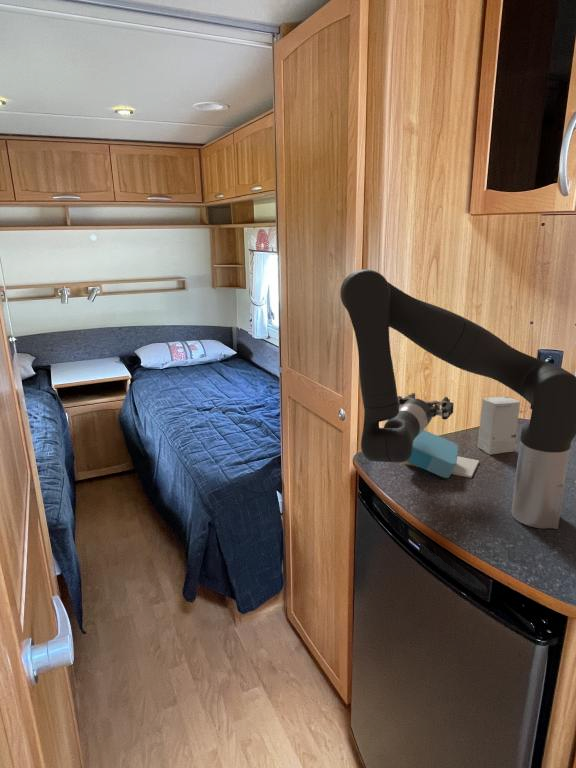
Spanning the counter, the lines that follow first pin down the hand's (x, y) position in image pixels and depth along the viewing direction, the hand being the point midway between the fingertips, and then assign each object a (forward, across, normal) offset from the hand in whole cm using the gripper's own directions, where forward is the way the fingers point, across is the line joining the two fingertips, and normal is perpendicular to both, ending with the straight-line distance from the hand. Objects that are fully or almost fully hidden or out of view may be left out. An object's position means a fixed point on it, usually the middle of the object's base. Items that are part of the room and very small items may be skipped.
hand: (429, 398), depth 130 cm
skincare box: (+16, -15, +18) cm, 28 cm away
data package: (-11, -3, +13) cm, 17 cm away
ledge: (0, +3, +18) cm, 18 cm away
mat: (0, -5, +18) cm, 18 cm away
